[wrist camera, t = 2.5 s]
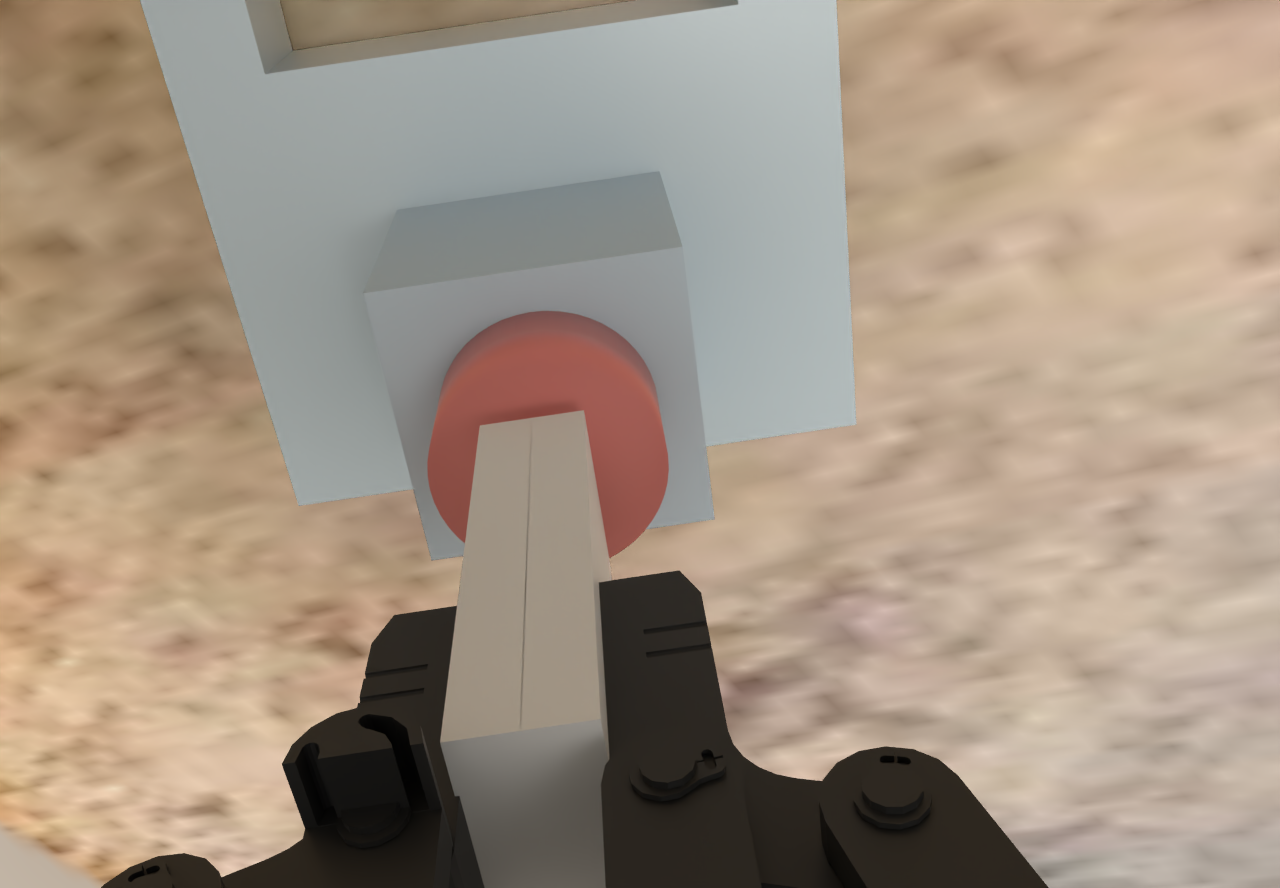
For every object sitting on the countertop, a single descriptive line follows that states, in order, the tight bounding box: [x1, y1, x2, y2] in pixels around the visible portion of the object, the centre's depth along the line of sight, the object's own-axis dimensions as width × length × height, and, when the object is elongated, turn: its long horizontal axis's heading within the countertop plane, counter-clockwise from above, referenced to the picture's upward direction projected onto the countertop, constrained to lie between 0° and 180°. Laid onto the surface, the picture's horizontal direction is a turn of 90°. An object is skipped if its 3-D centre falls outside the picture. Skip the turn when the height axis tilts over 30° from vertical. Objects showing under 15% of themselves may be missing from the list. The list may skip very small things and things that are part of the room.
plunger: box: [427, 311, 669, 558], centre depth 18 cm, size 4×4×2 cm
